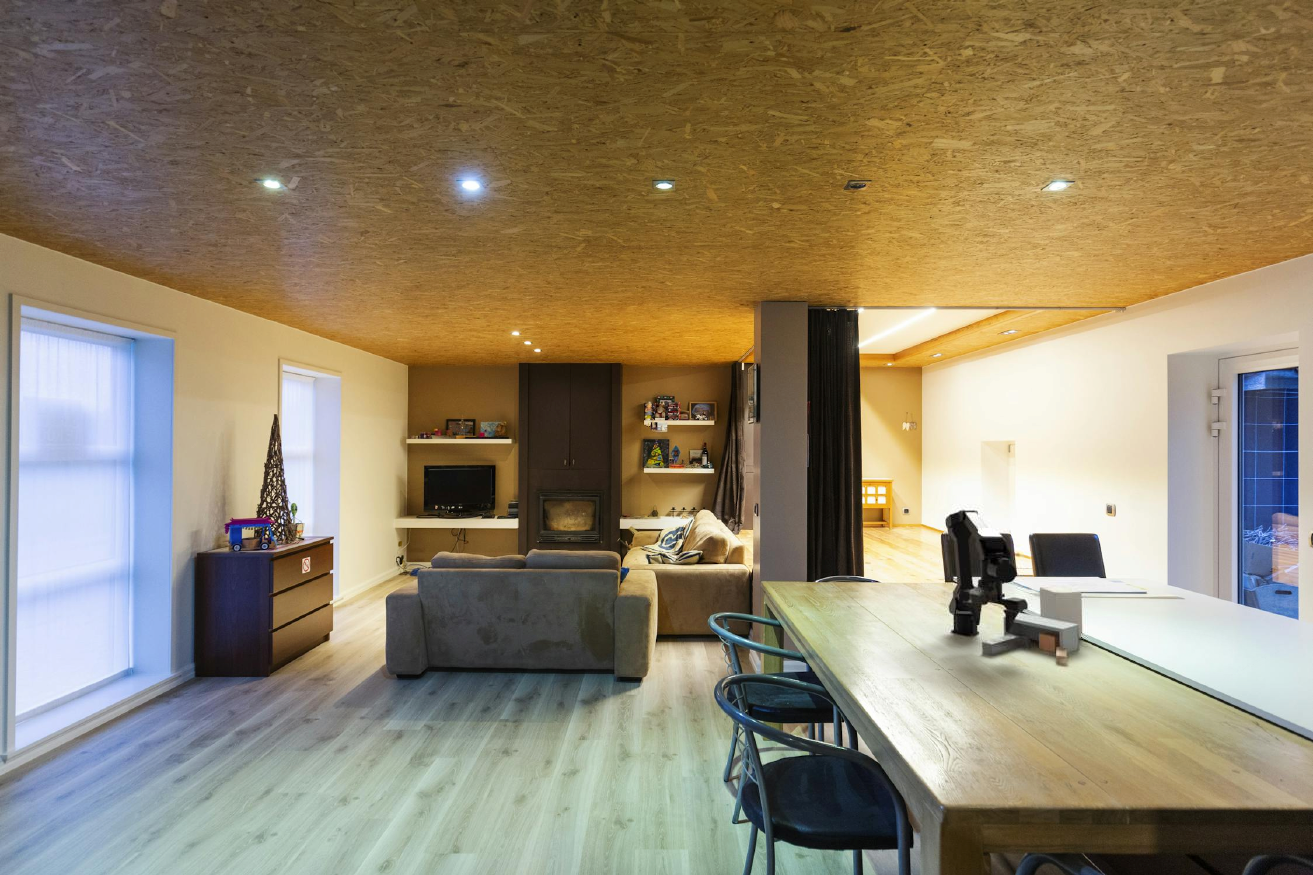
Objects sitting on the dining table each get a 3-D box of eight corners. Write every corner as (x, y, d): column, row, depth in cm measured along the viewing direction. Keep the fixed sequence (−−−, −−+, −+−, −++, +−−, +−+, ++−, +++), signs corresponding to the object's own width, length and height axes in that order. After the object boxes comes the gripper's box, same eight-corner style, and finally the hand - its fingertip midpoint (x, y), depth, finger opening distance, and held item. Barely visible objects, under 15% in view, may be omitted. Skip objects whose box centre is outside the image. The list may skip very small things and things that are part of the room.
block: (1039, 648, 202) (1039, 633, 202) (1046, 646, 205) (1046, 631, 205) (1054, 652, 198) (1054, 637, 199) (1062, 649, 201) (1061, 634, 201)
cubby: (1003, 640, 211) (1003, 616, 211) (1020, 635, 216) (1019, 612, 216) (1063, 654, 196) (1062, 628, 196) (1079, 649, 201) (1078, 624, 201)
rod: (1056, 664, 188) (1056, 655, 188) (1056, 655, 196) (1056, 646, 196) (1066, 665, 186) (1066, 656, 186) (1066, 656, 195) (1066, 647, 195)
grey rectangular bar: (998, 657, 193) (998, 645, 193) (976, 651, 199) (975, 640, 199) (1030, 648, 203) (1030, 636, 203) (1007, 642, 209) (1007, 631, 209)
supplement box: (1083, 638, 212) (1082, 592, 213) (1055, 638, 212) (1054, 592, 213) (1066, 631, 221) (1065, 586, 222) (1039, 631, 221) (1039, 586, 222)
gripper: (947, 574, 202) (947, 625, 202) (1007, 584, 186) (1008, 639, 186) (968, 570, 208) (969, 620, 208) (1028, 580, 192) (1029, 633, 192)
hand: (992, 628), depth 198 cm, fingers open, 9 cm apart
